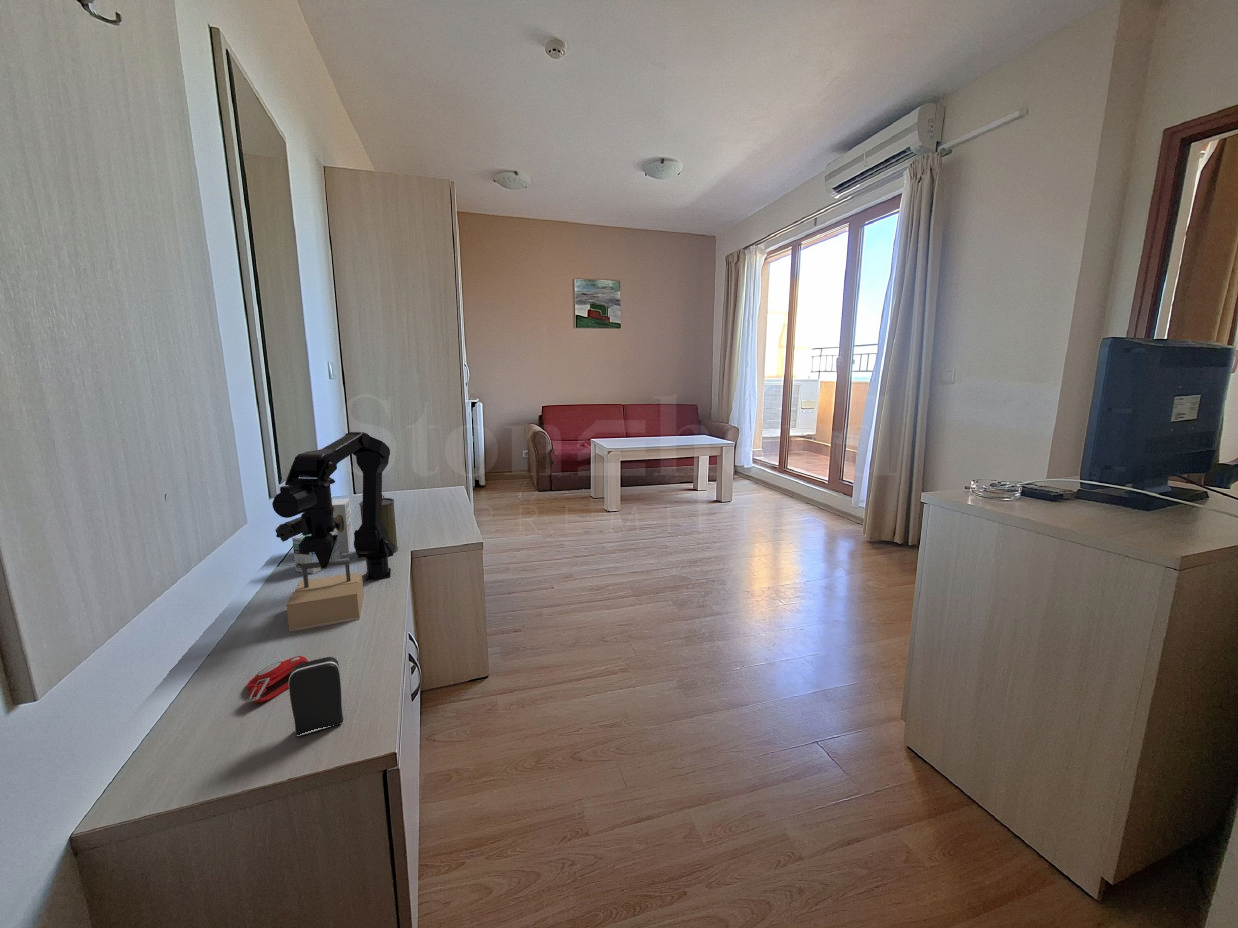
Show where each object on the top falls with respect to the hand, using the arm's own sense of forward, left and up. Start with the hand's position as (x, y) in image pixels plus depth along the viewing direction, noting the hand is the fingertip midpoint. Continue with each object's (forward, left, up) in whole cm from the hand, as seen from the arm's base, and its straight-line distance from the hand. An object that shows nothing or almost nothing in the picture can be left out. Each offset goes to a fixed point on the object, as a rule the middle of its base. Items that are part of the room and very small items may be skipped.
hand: (324, 567), depth 112 cm
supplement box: (-50, -4, -12) cm, 52 cm away
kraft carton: (0, 0, -12) cm, 12 cm away
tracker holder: (+28, -6, -12) cm, 31 cm away
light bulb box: (-35, -7, -12) cm, 38 cm away
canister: (-42, +10, -12) cm, 45 cm away
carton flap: (-4, 0, -6) cm, 7 cm away
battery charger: (+44, +4, -12) cm, 45 cm away
